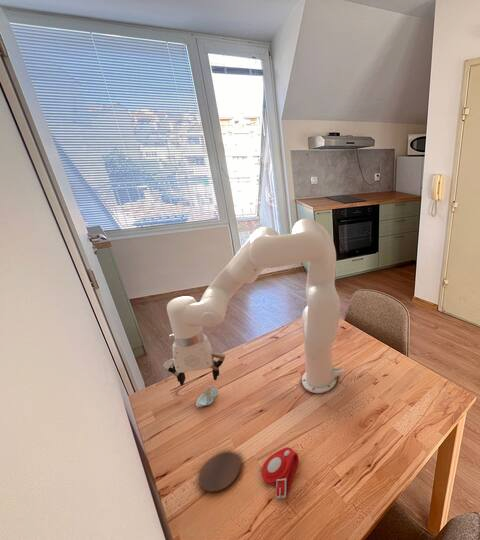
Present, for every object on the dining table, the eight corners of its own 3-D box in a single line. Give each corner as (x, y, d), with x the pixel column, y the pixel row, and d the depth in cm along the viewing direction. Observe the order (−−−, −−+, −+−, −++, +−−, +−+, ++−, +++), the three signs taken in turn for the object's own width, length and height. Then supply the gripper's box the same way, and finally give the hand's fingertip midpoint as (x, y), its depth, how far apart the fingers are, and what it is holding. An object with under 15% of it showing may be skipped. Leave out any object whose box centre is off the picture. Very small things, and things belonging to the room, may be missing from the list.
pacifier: (192, 408, 96) (209, 410, 95) (187, 394, 93) (204, 396, 92) (205, 391, 102) (221, 392, 102) (200, 377, 100) (217, 379, 99)
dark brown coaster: (242, 450, 83) (242, 448, 83) (239, 487, 75) (238, 485, 74) (204, 458, 81) (203, 456, 81) (195, 498, 72) (195, 496, 72)
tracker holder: (252, 470, 77) (282, 438, 83) (260, 479, 79) (288, 447, 85) (276, 499, 69) (307, 461, 75) (284, 508, 71) (314, 470, 77)
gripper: (151, 348, 82) (165, 393, 89) (218, 340, 86) (227, 383, 93) (160, 332, 88) (173, 375, 96) (222, 325, 93) (230, 367, 100)
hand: (199, 379), depth 94 cm, fingers open, 9 cm apart
